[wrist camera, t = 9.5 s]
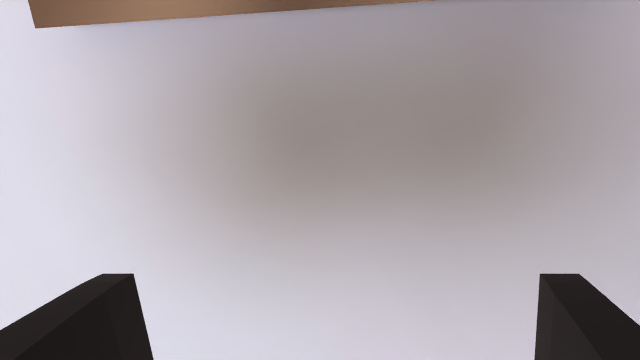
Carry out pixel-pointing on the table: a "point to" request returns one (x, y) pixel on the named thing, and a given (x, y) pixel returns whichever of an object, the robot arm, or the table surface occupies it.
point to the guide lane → (167, 9)
